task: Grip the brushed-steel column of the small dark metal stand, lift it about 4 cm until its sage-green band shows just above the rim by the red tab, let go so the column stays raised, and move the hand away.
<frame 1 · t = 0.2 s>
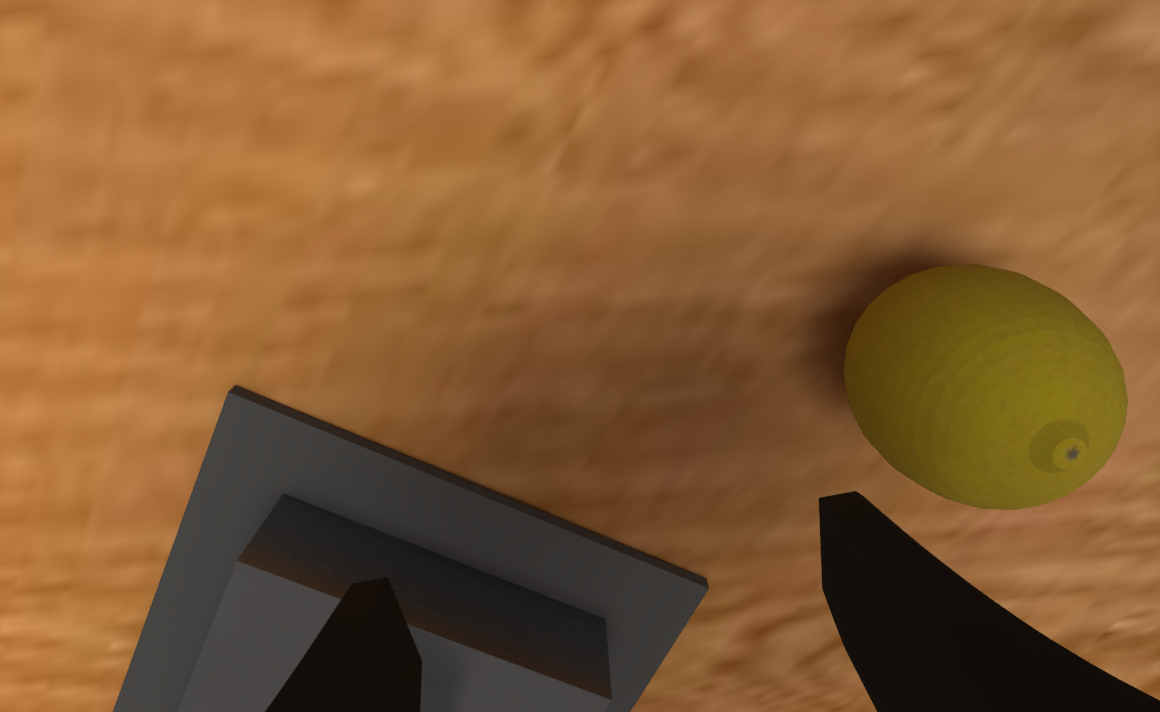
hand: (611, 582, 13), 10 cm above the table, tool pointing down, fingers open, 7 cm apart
lemon: (897, 328, 23), on the table
base mat: (390, 673, 26), on the table
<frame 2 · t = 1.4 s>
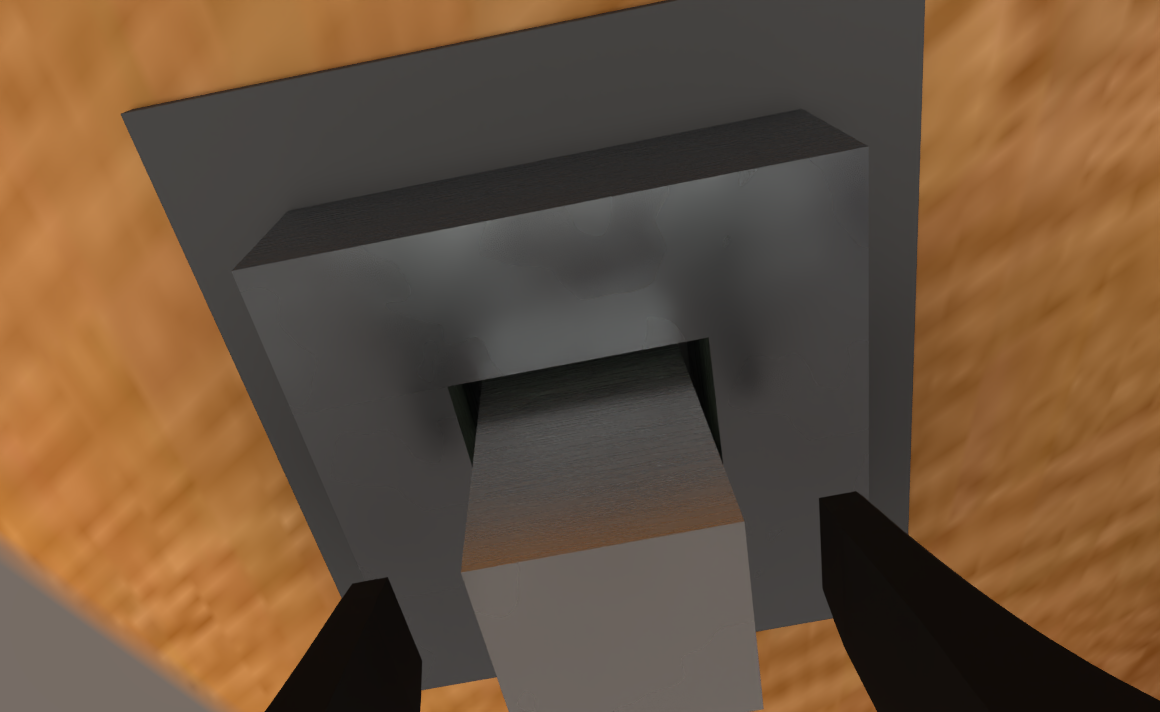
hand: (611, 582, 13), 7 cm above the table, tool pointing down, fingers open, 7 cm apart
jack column: (602, 487, 15), point 5 cm above the table, slide at 0.0 cm
jack housing: (594, 428, 17), on the base mat, point 2 cm above the table
base mat: (586, 372, 19), on the table
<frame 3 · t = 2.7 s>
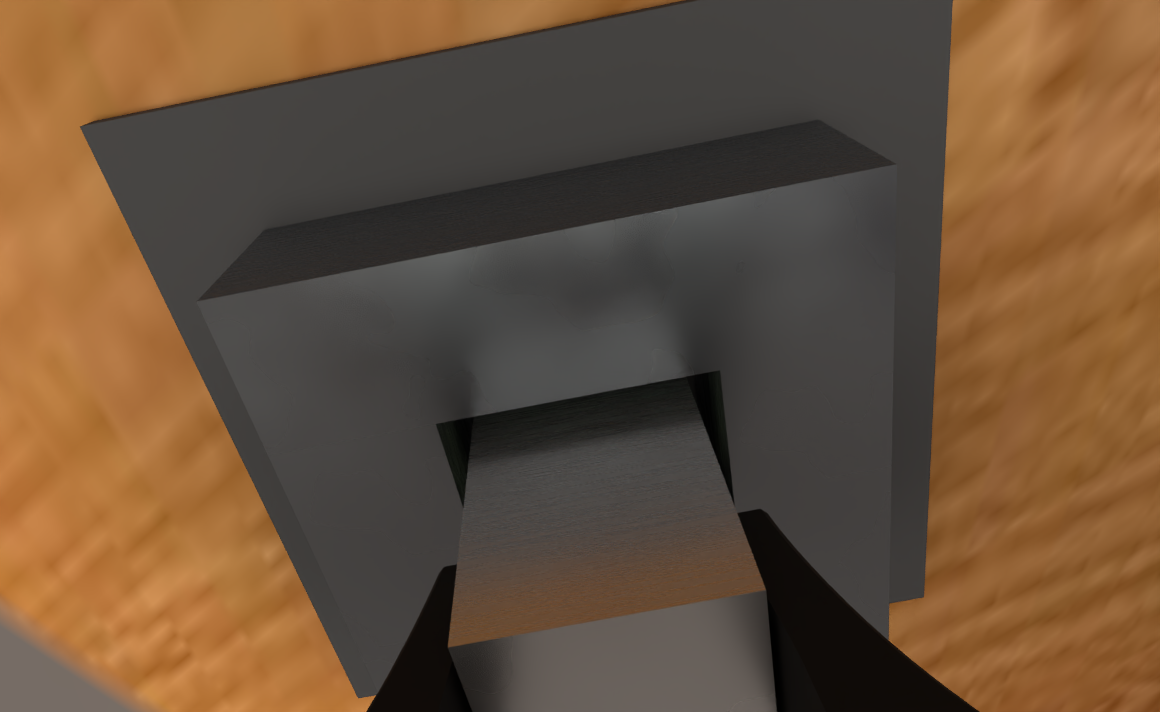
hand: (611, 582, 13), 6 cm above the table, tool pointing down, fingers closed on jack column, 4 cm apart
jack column: (604, 531, 14), point 5 cm above the table, slide at 0.0 cm, touching gripper
jack housing: (595, 462, 16), on the base mat
base mat: (586, 398, 18), on the table
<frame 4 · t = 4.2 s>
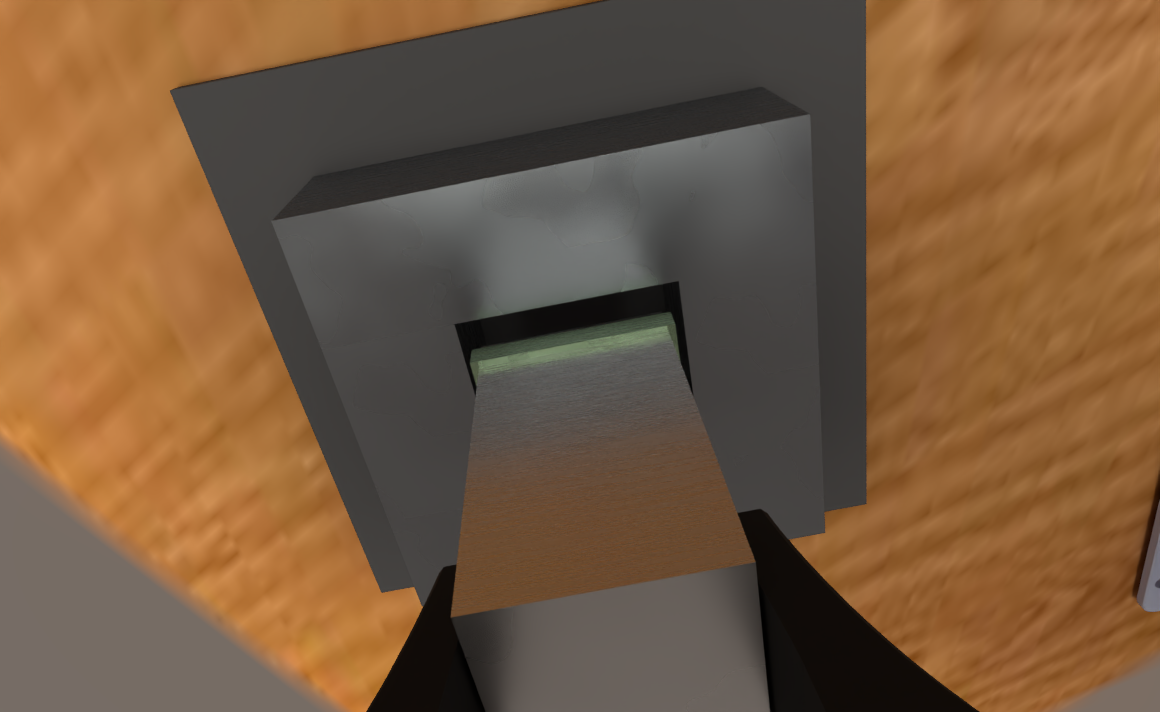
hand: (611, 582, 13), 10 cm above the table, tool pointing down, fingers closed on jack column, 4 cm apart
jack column: (601, 513, 14), point 8 cm above the table, slide at 3.5 cm, touching gripper
jack housing: (582, 369, 19), on the base mat, point 2 cm above the table
base mat: (576, 324, 21), on the table
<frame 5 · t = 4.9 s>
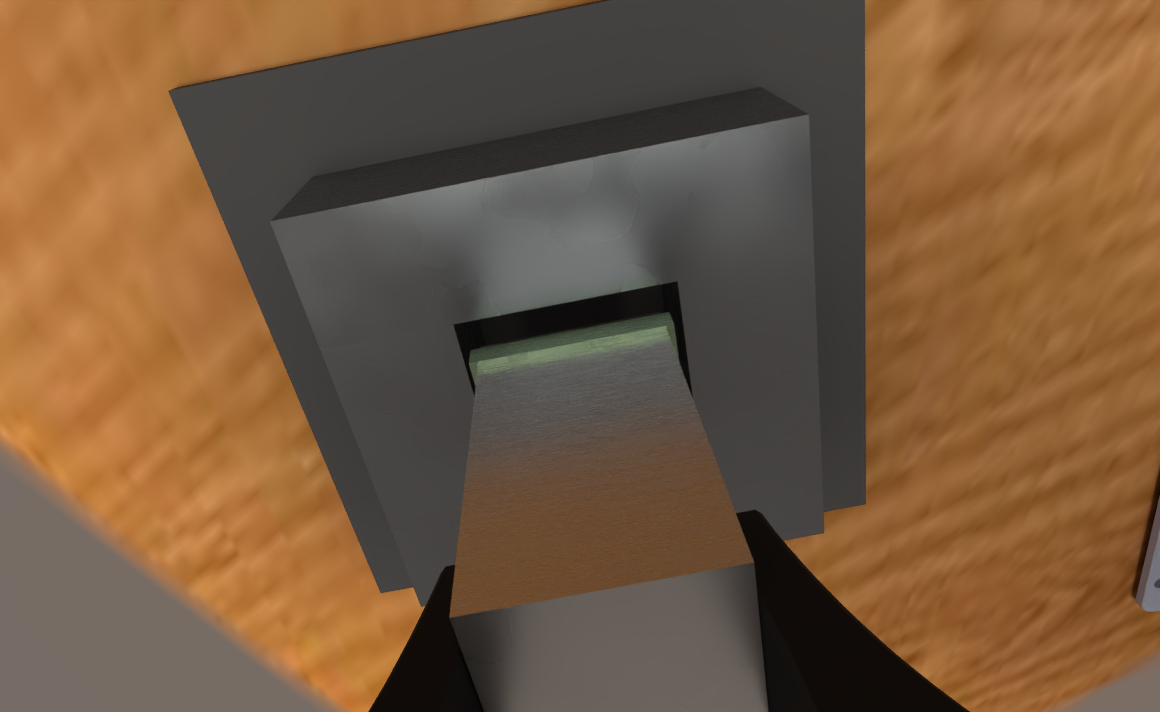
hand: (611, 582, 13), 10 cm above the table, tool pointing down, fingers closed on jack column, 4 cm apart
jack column: (600, 514, 14), point 8 cm above the table, slide at 3.5 cm, touching gripper
jack housing: (581, 369, 19), on the base mat, point 2 cm above the table
base mat: (575, 324, 21), on the table
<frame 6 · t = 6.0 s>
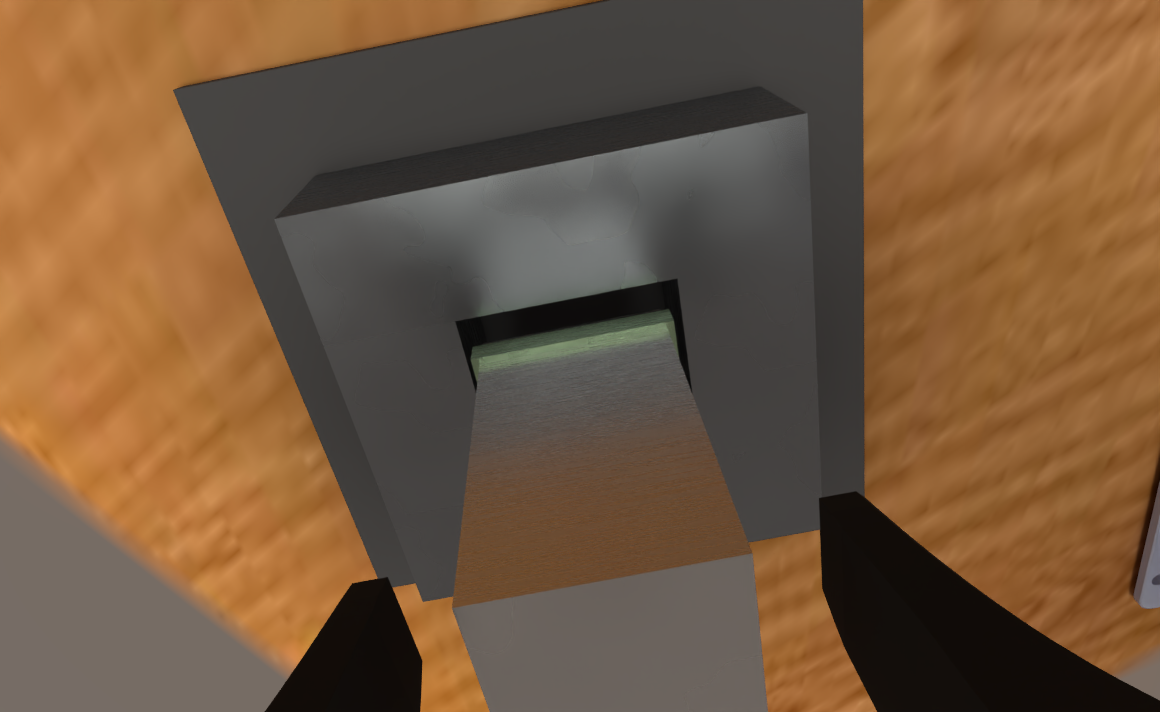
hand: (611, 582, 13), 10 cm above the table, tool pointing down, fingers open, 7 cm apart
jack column: (601, 508, 14), point 8 cm above the table, slide at 3.5 cm
jack housing: (582, 366, 20), on the base mat
base mat: (575, 322, 21), on the table
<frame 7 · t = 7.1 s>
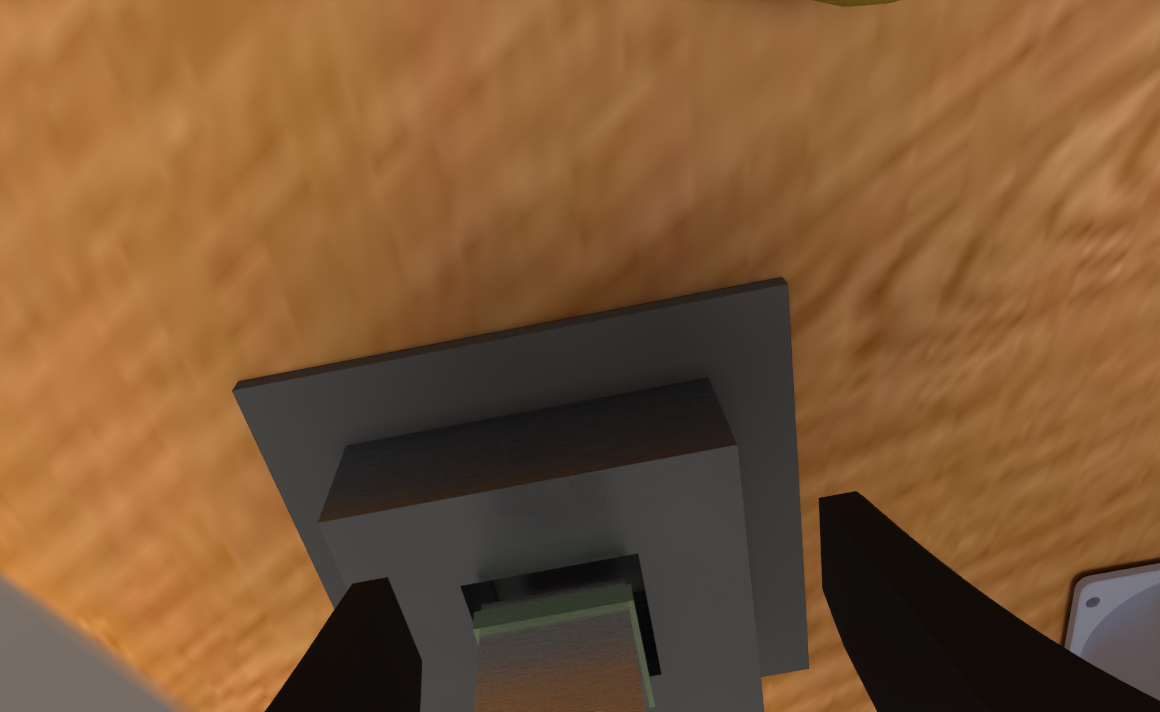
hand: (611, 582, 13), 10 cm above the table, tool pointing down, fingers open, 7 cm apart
jack housing: (564, 592, 24), on the base mat
base mat: (560, 538, 26), on the table
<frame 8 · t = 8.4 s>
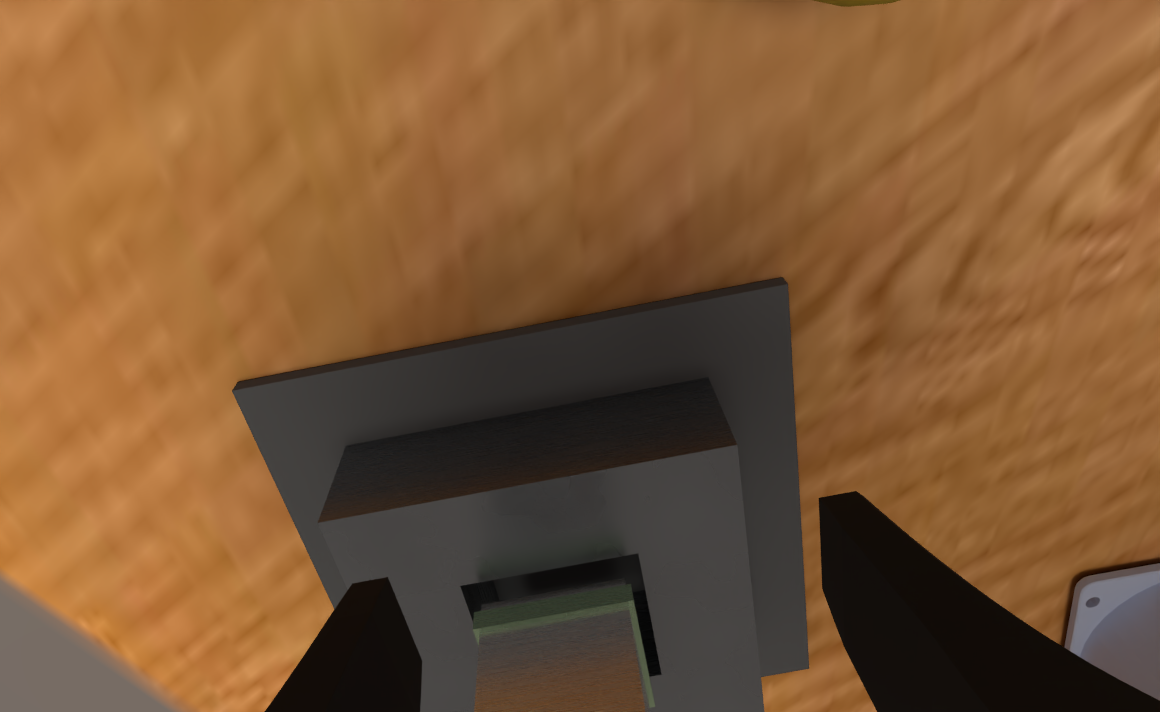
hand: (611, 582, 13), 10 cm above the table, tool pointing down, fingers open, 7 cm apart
jack housing: (564, 592, 24), on the base mat
base mat: (560, 538, 26), on the table
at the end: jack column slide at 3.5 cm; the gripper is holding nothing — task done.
